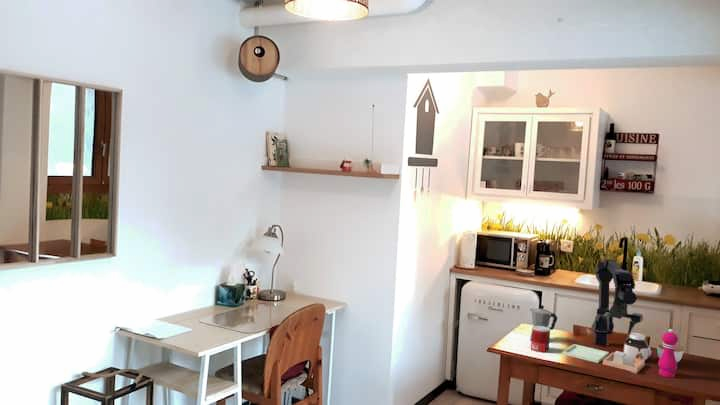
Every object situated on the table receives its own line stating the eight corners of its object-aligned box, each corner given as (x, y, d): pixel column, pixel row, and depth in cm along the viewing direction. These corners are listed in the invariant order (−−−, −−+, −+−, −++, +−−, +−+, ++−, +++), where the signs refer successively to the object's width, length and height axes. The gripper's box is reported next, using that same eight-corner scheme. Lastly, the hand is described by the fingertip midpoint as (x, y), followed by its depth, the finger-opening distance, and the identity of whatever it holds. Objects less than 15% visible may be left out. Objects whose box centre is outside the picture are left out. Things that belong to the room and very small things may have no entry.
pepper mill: (653, 371, 259) (658, 326, 258) (669, 371, 260) (674, 326, 258) (663, 377, 252) (668, 331, 251) (679, 378, 253) (684, 331, 251)
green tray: (573, 347, 287) (574, 344, 287) (608, 355, 278) (608, 352, 277) (562, 355, 275) (562, 351, 275) (597, 364, 265) (598, 360, 265)
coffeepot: (522, 338, 298) (525, 303, 296) (534, 336, 303) (536, 301, 302) (548, 347, 285) (551, 310, 284) (560, 344, 291) (563, 308, 290)
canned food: (549, 354, 275) (551, 331, 274) (531, 352, 277) (533, 329, 276) (547, 349, 282) (549, 326, 282) (529, 347, 284) (531, 324, 283)
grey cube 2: (623, 364, 264) (624, 356, 264) (633, 367, 262) (634, 358, 262) (622, 367, 261) (623, 358, 260) (632, 369, 259) (633, 360, 258)
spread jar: (623, 360, 272) (625, 335, 271) (622, 353, 283) (624, 329, 282) (652, 364, 268) (655, 339, 267) (649, 357, 279) (652, 333, 278)
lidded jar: (679, 360, 277) (681, 340, 276) (684, 367, 267) (686, 347, 266) (654, 356, 280) (656, 337, 280) (657, 363, 270) (659, 343, 270)
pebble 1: (615, 359, 271) (616, 350, 271) (625, 361, 269) (625, 352, 268) (613, 361, 268) (614, 352, 268) (622, 363, 266) (623, 355, 265)
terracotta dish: (611, 358, 275) (612, 352, 275) (644, 365, 266) (644, 360, 266) (602, 365, 264) (603, 359, 264) (636, 373, 255) (636, 368, 255)
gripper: (594, 298, 270) (591, 331, 271) (638, 306, 259) (635, 341, 260) (601, 294, 279) (598, 327, 280) (644, 302, 267) (641, 336, 268)
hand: (618, 332), depth 272 cm, fingers open, 9 cm apart
